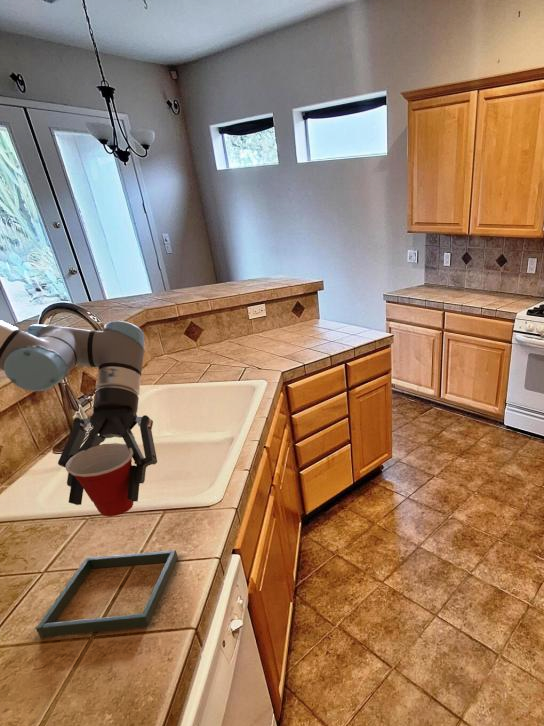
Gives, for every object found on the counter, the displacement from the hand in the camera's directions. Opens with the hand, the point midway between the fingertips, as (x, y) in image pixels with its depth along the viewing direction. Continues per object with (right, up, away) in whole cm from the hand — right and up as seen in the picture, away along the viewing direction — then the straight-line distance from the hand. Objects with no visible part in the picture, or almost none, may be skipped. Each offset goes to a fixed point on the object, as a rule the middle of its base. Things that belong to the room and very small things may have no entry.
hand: (103, 501), depth 81 cm
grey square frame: (+7, -16, -6) cm, 19 cm away
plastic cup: (-1, -2, +5) cm, 5 cm away
